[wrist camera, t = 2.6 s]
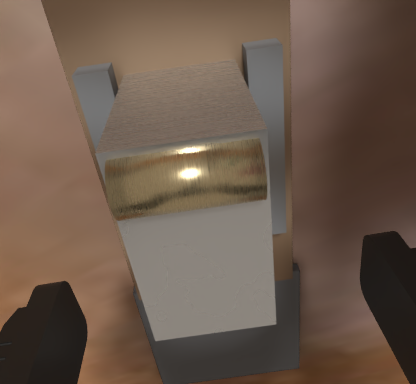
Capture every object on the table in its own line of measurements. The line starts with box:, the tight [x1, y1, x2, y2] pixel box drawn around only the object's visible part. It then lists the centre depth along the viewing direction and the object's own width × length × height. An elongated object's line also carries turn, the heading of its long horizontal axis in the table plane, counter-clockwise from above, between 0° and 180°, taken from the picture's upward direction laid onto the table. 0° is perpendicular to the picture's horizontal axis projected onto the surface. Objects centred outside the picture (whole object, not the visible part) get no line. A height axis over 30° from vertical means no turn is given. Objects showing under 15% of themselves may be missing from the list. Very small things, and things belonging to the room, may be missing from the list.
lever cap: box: [95, 59, 276, 341], centre depth 13 cm, size 7×4×7 cm, turn 7°
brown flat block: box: [41, 0, 293, 300], centre depth 17 cm, size 16×8×4 cm, turn 7°
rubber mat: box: [133, 264, 300, 384], centre depth 27 cm, size 10×10×1 cm
